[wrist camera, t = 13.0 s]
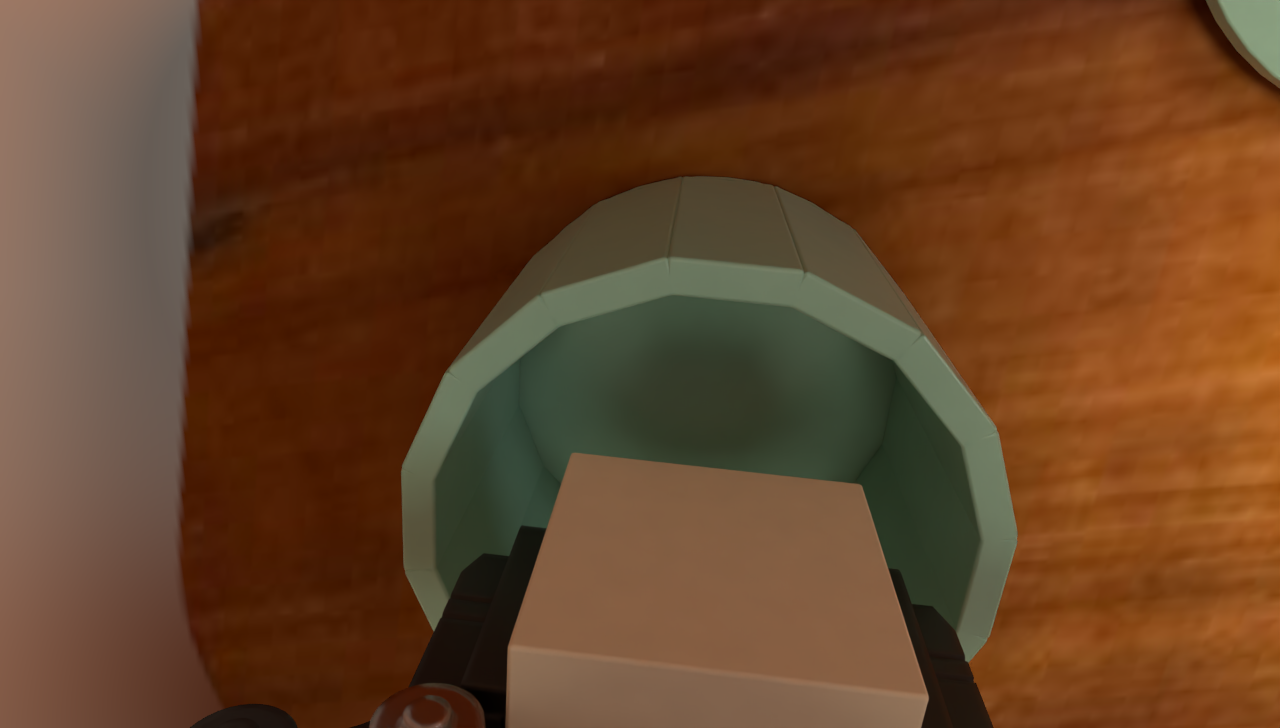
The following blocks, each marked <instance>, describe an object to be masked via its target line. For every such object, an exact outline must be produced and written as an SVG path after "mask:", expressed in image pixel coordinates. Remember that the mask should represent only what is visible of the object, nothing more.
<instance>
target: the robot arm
mask: <svg viewBox="0 0 1280 728" xmlns="http://www.w3.org/2000/svg"><path fill="white" fill-rule="evenodd" d="M546 529H547V528H541V527H533V526H524V525H522V526H521V527H520V529H519V531H518V534H517V536H516V539H515V542H514V544H513V547H512V550H511V552H510V555H509V556H504V555H495V554H486V553H483V554H482V555H481V556H480V557H478V558H477V559H476V560H475V561H473V562H472V563H471V564H470V565H469V566H467V567H466V568H465V569H464V570H463V571H461V573H460V576H459V578H458V580H457V582H456V584H455V587H454V589H453V591H452V593H451V598H450V599H449V600H448V602H447V604H446V606H445V609H444V611H443V614H442V618H440V620H439V622H438V624H437V626H436V628H435V631H434V633H433V635H432V637H431V639H430V642H429V644H428V646H427V648H426V650H425V653H424V655H423V657H422V659H421V661H420V664H419V666H418V668H417V670H416V672H415V675H414V677H413V679H412V681H411V683H410V686H409V687H408V688H406V689H403V690H401V691H399V692H397V693H395V694H393V695H392V696H390V697H389V698H388V699H386V700H385V701H384V702H383V703H382V704H381V705H380V706H379V707H378V708H377V710H376V711H375V713H374V714H373V716H372V719H371V721H369V722H366V723H364V724H361V725H358V726H354V727H351V728H505V723H506V688H507V654H508V645H509V642H510V639H511V635H512V632H513V629H514V626H515V623H516V620H517V617H518V614H519V611H520V608H521V605H522V602H523V599H524V596H525V593H526V590H527V587H528V584H529V581H530V578H531V575H532V572H533V569H534V566H535V562H536V559H537V556H538V553H539V550H540V547H541V544H542V541H543V538H544V535H545V532H546ZM888 570H889V573H890V576H891V579H892V582H893V585H894V589H895V592H896V595H897V598H898V601H899V604H900V607H901V611H902V614H903V617H904V620H905V623H906V626H907V630H908V633H909V636H910V639H911V642H912V645H913V649H914V652H915V655H916V658H917V661H918V664H919V668H920V671H921V674H922V677H923V680H924V683H925V687H926V690H927V693H928V696H929V700H928V703H927V707H926V711H925V715H924V718H923V722H922V726H921V728H993V725H992V723H991V720H990V718H989V715H988V712H987V710H986V707H985V705H984V702H983V700H982V697H981V695H980V692H979V690H978V687H977V685H976V683H974V681H973V679H974V677H973V674H972V672H971V669H970V667H969V664H968V662H967V661H965V654H964V652H963V649H962V646H961V644H960V641H959V639H958V636H957V634H956V631H955V630H954V629H953V628H952V626H951V625H950V624H949V623H948V622H947V621H946V620H945V619H944V618H943V617H942V616H941V615H940V614H939V613H938V612H937V610H936V609H935V608H934V607H933V606H926V605H918V604H912V603H911V600H910V597H909V594H908V591H907V588H906V586H905V583H904V580H903V577H902V574H901V572H900V570H898V569H892V568H888ZM190 728H297V725H296V723H295V721H294V720H293V719H292V717H291V716H290V715H288V714H287V713H286V712H285V711H283V710H281V709H279V708H276V707H273V706H269V705H263V704H246V705H238V706H234V707H229V708H226V709H223V710H220V711H217V712H215V713H213V714H211V715H209V716H207V717H205V718H203V719H202V720H200V721H198V722H197V723H195V724H194V725H193V726H192V727H190Z"/></svg>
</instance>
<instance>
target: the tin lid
mask: <svg viewBox="0 0 1280 728" xmlns="http://www.w3.org/2000/svg"><path fill="white" fill-rule="evenodd" d="M1206 2H1207V4H1208V6H1209V8H1210V10H1211V12H1212V14H1213V16H1214V18H1215V20H1216V22H1217V24H1218V25H1219V27H1220V28H1221V29H1222V31H1223V32H1224V34H1225V35H1226V37H1227V38H1228V39H1229V41H1230V42H1231V44H1232V45H1233V46H1234V48H1235V49H1236V51H1237V52H1238V53H1239V54H1240V55H1241V56H1242V57H1243V58H1244V59H1245V60H1246V61H1247V62H1248V63H1249V64H1250V65H1251V66H1252V67H1253V68H1254V69H1255V70H1256V71H1257V72H1258V73H1259V74H1260V75H1262V76H1263V77H1265V78H1266V79H1267V80H1269V81H1270V82H1272V83H1273V84H1274V85H1276V86H1277V87H1278V88H1280V0H1206Z"/></svg>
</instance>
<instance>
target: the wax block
mask: <svg viewBox="0 0 1280 728" xmlns="http://www.w3.org/2000/svg"><path fill="white" fill-rule="evenodd" d="M928 700H929V696H928V693H927V690H926V687H925V683H924V680H923V677H922V674H921V671H920V668H919V664H918V661H917V658H916V655H915V652H914V649H913V645H912V642H911V639H910V636H909V633H908V630H907V626H906V623H905V620H904V617H903V614H902V611H901V607H900V604H899V601H898V598H897V595H896V592H895V589H894V585H893V582H892V579H891V576H890V573H889V570H888V566H887V563H886V560H885V557H884V554H883V551H882V547H881V544H880V541H879V538H878V535H877V532H876V528H875V525H874V522H873V519H872V516H871V513H870V510H869V506H868V503H867V500H866V497H865V494H864V491H863V487H862V485H860V484H854V483H845V482H836V481H827V480H818V479H809V478H800V477H791V476H781V475H772V474H763V473H754V472H745V471H736V470H727V469H718V468H709V467H700V466H691V465H682V464H673V463H664V462H655V461H646V460H637V459H628V458H619V457H610V456H601V455H592V454H583V453H572V454H571V456H570V459H569V462H568V465H567V468H566V471H565V474H564V477H563V480H562V483H561V486H560V489H559V492H558V496H557V499H556V502H555V505H554V508H553V511H552V514H551V517H550V520H549V523H548V526H547V529H546V532H545V535H544V538H543V541H542V544H541V547H540V550H539V553H538V556H537V559H536V562H535V566H534V569H533V572H532V575H531V578H530V581H529V584H528V587H527V590H526V593H525V596H524V599H523V602H522V605H521V608H520V611H519V614H518V617H517V620H516V623H515V626H514V629H513V632H512V635H511V639H510V642H509V645H508V654H507V688H506V723H505V728H921V726H922V722H923V718H924V715H925V711H926V707H927V703H928Z"/></svg>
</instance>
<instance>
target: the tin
mask: <svg viewBox="0 0 1280 728" xmlns="http://www.w3.org/2000/svg"><path fill="white" fill-rule="evenodd" d="M572 453H583V454H592V455H601V456H610V457H619V458H628V459H637V460H646V461H655V462H664V463H673V464H682V465H691V466H700V467H709V468H718V469H727V470H736V471H745V472H754V473H763V474H772V475H781V476H791V477H800V478H809V479H818V480H827V481H836V482H845V483H854V484H860V485H862V487H863V491H864V494H865V497H866V500H867V503H868V506H869V510H870V513H871V516H872V519H873V522H874V525H875V528H876V532H877V535H878V538H879V541H880V544H881V547H882V551H883V554H884V557H885V560H886V563H887V566H888V568H892V569H898V570H900V572H901V574H902V577H903V580H904V583H905V586H906V588H907V591H908V594H909V597H910V600H911V603H912V604H918V605H926V606H933V607H934V608H935V609H936V610H937V612H938V613H939V614H940V615H941V616H942V617H943V618H944V619H945V620H946V621H947V622H948V623H949V624H950V625H951V626H952V628H953V629H954V630H955V631H956V634H957V636H958V639H959V641H960V644H961V646H962V649H963V652H964V654H965V661H967V662H968V663H969V661H970V660H971V659H972V658H973V657H974V656H975V654H976V653H977V652H978V651H979V650H980V649H981V648H982V646H983V645H984V644H985V643H986V641H987V638H988V637H989V636H990V633H991V630H992V626H993V623H994V620H995V616H996V613H997V609H998V606H999V603H1000V599H1001V596H1002V592H1003V589H1004V586H1005V582H1006V579H1007V575H1008V572H1009V569H1010V565H1011V562H1012V558H1013V555H1014V552H1015V548H1016V545H1017V535H1018V532H1017V527H1016V521H1015V516H1014V511H1013V506H1012V501H1011V495H1010V490H1009V485H1008V480H1007V474H1006V469H1005V464H1004V459H1003V453H1002V448H1001V443H1000V438H999V433H998V431H997V429H996V426H995V424H994V423H993V421H992V420H991V419H990V417H989V416H988V414H987V413H986V411H985V410H984V408H983V407H982V406H981V404H980V403H979V401H978V400H977V398H976V397H975V395H974V394H973V393H972V391H971V390H970V388H969V387H968V385H967V384H966V382H965V381H964V380H963V378H962V377H961V375H960V374H959V372H958V371H957V369H956V368H955V367H954V365H953V364H952V362H951V361H950V359H949V358H948V356H947V355H946V354H945V352H944V351H943V349H942V348H941V346H940V345H939V343H938V342H937V341H936V339H935V338H934V336H933V335H932V333H931V332H930V330H929V329H928V328H927V326H926V325H925V323H924V322H923V320H922V319H921V317H920V316H919V315H918V313H917V312H916V310H915V309H914V307H913V306H912V304H911V303H910V302H909V300H908V299H907V297H906V296H905V294H904V293H903V292H902V290H901V289H900V288H899V286H898V285H897V284H896V283H895V281H894V280H893V279H892V277H891V276H890V275H889V273H888V272H887V271H886V269H885V268H884V267H883V266H882V264H881V263H880V262H879V260H878V259H877V257H876V256H875V255H874V254H873V252H872V251H871V250H870V249H869V247H868V246H867V245H866V243H865V242H864V241H863V239H862V238H861V237H860V236H859V234H858V233H857V232H856V230H855V229H852V227H851V226H849V225H847V224H845V223H844V222H842V221H840V220H838V219H837V218H835V217H834V216H832V215H831V214H829V213H828V212H826V211H824V210H823V209H821V208H820V207H818V206H817V205H815V204H813V203H812V202H810V201H807V200H805V199H803V198H801V197H799V196H796V195H794V194H792V193H790V192H788V191H785V190H783V189H781V188H779V187H777V186H774V187H773V185H770V184H763V183H759V182H755V181H749V180H743V179H736V178H730V177H708V176H695V177H688V176H685V177H683V178H682V177H677V178H674V179H668V180H663V181H659V182H655V183H651V184H647V185H642V186H639V187H636V188H634V189H631V190H629V191H626V192H623V193H621V194H618V195H616V196H613V197H611V198H609V199H606V200H603V201H599V202H598V203H597V204H594V205H593V206H592V207H590V208H589V209H588V210H587V211H586V212H584V213H583V214H582V215H581V216H580V217H578V218H577V219H575V220H574V221H573V222H571V223H570V224H569V225H567V226H566V227H565V228H564V229H563V230H562V231H561V232H560V233H559V234H558V235H557V236H556V237H555V238H554V239H553V240H552V241H550V242H549V243H548V244H547V245H546V246H544V247H543V248H542V249H541V250H540V251H539V252H537V253H536V254H535V255H534V256H533V257H532V258H531V260H530V261H529V262H528V263H527V265H526V266H525V267H524V269H523V270H522V271H521V273H520V274H519V275H518V277H517V278H516V279H515V281H514V282H513V283H512V285H511V286H510V287H509V289H508V290H507V291H506V292H505V294H504V295H503V296H502V298H501V299H500V300H499V302H498V303H497V304H496V306H495V307H494V308H493V310H492V311H491V312H490V314H489V315H488V316H487V318H486V319H485V320H484V322H483V323H482V324H481V326H480V327H479V328H478V330H477V331H476V332H475V334H474V335H473V336H472V337H471V339H470V340H469V341H468V343H467V344H466V345H465V347H464V348H463V349H462V351H461V352H460V353H459V355H458V356H457V357H456V359H455V360H454V361H453V363H452V364H451V365H450V367H449V368H448V369H447V371H446V372H445V373H444V376H443V378H442V380H441V382H440V384H439V386H438V389H437V391H436V393H435V395H434V397H433V399H432V402H431V404H430V406H429V408H428V410H427V412H426V415H425V417H424V419H423V421H422V423H421V425H420V428H419V430H418V432H417V434H416V436H415V438H414V440H413V443H412V445H411V447H410V449H409V451H408V453H407V456H406V458H405V460H404V462H403V464H402V471H401V484H402V522H403V561H404V568H405V574H406V576H407V578H408V580H409V582H410V584H411V586H412V588H413V590H414V592H415V594H416V596H417V598H418V600H419V602H420V604H421V606H422V609H423V611H424V613H425V615H426V617H427V619H428V621H429V623H430V625H431V627H432V629H433V631H435V628H436V626H437V624H438V622H439V620H440V618H442V614H443V611H444V609H445V606H446V604H447V602H448V600H449V599H450V598H451V593H452V591H453V589H454V587H455V584H456V582H457V580H458V578H459V576H460V573H461V571H463V570H464V569H465V568H466V567H467V566H469V565H470V564H471V563H472V562H473V561H475V560H476V559H477V558H478V557H480V556H481V555H482V554H483V553H486V554H495V555H504V556H509V555H510V552H511V550H512V547H513V544H514V542H515V539H516V536H517V534H518V531H519V529H520V527H521V526H522V525H524V526H533V527H541V528H547V526H548V523H549V520H550V517H551V514H552V511H553V508H554V505H555V502H556V499H557V496H558V492H559V489H560V486H561V483H562V480H563V477H564V474H565V471H566V468H567V465H568V462H569V459H570V456H571V454H572Z"/></svg>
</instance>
